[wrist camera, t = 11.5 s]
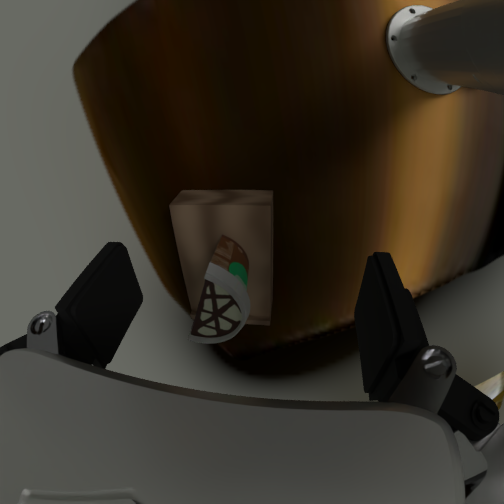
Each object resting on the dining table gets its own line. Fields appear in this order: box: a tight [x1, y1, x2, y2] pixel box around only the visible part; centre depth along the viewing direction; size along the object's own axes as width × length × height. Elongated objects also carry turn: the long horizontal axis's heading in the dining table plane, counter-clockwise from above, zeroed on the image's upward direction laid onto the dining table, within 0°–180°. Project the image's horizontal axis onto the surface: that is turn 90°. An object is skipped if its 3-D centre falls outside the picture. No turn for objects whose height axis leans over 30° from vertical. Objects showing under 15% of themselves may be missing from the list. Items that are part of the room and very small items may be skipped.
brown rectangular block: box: [169, 190, 273, 325], centre depth 42 cm, size 13×20×6 cm, turn 2°
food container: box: [188, 235, 251, 343], centre depth 36 cm, size 12×6×10 cm, turn 162°
